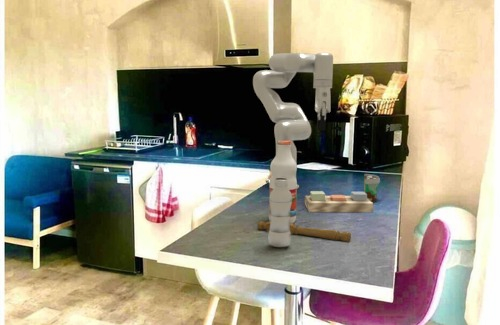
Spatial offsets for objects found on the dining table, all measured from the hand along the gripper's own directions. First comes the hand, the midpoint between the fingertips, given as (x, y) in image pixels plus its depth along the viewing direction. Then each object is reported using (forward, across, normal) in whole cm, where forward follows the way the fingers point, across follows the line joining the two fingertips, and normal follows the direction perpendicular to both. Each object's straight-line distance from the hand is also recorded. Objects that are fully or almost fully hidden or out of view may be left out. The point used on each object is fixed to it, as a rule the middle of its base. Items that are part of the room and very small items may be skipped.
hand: (321, 129), depth 186 cm
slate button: (+26, -15, -13) cm, 33 cm away
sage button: (+26, -15, +3) cm, 31 cm away
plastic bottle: (+29, -59, +21) cm, 69 cm away
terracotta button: (+28, -15, -5) cm, 32 cm away
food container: (+29, -1, -22) cm, 37 cm away
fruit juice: (+29, -33, +18) cm, 48 cm away
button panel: (+29, -15, -5) cm, 33 cm away
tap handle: (+30, -48, +13) cm, 58 cm away
